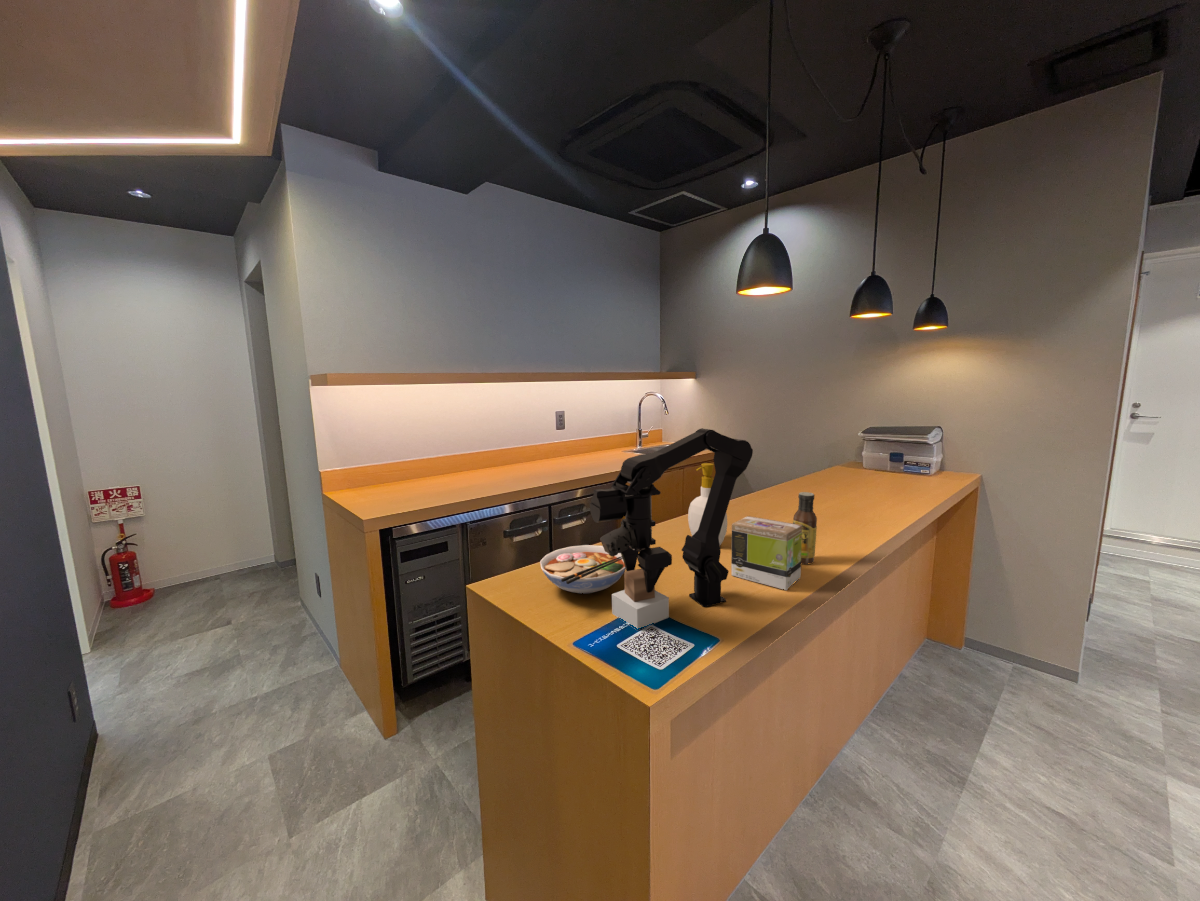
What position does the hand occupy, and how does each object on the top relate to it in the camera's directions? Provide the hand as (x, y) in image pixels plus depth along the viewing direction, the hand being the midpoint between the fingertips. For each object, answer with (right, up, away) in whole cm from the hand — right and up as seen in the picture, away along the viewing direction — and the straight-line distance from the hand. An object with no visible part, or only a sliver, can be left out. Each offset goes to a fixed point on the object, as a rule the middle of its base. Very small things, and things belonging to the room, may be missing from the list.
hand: (639, 583), depth 104 cm
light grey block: (0, -8, +1) cm, 8 cm away
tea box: (+35, -4, +19) cm, 40 cm away
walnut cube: (0, -3, +1) cm, 3 cm away
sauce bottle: (+49, -2, +29) cm, 57 cm away
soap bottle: (+25, 0, +45) cm, 52 cm away
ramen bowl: (-12, -6, +16) cm, 21 cm away
